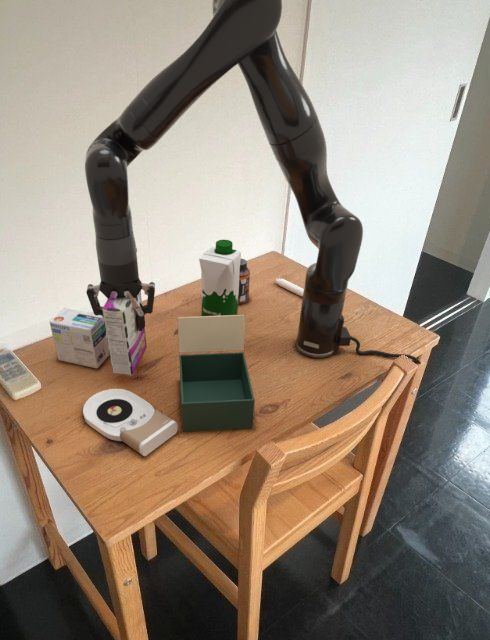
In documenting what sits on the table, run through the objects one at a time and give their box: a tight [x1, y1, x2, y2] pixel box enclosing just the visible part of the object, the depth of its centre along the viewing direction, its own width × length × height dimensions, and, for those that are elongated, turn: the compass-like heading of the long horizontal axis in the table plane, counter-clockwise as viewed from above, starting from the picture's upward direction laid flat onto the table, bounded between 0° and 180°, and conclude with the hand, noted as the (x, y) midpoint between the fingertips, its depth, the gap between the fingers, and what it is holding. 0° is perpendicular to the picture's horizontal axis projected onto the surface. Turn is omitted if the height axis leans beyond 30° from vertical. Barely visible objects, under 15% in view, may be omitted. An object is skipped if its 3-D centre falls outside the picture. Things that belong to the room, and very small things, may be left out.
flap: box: [177, 314, 246, 354], centre depth 107 cm, size 14×8×1 cm
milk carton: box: [198, 239, 242, 316], centre depth 127 cm, size 9×9×20 cm
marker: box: [275, 277, 304, 298], centre depth 143 cm, size 18×2×2 cm, turn 40°
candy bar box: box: [102, 290, 148, 376], centre depth 110 cm, size 11×5×16 cm, turn 169°
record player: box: [82, 388, 179, 457], centre depth 103 cm, size 12×3×20 cm
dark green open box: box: [178, 351, 255, 433], centre depth 106 cm, size 14×16×7 cm
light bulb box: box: [48, 307, 110, 369], centre depth 117 cm, size 11×7×11 cm, turn 71°
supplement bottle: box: [238, 258, 251, 305], centre depth 137 cm, size 6×6×11 cm
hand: (126, 329), depth 110 cm, fingers closed on candy bar box, 5 cm apart
